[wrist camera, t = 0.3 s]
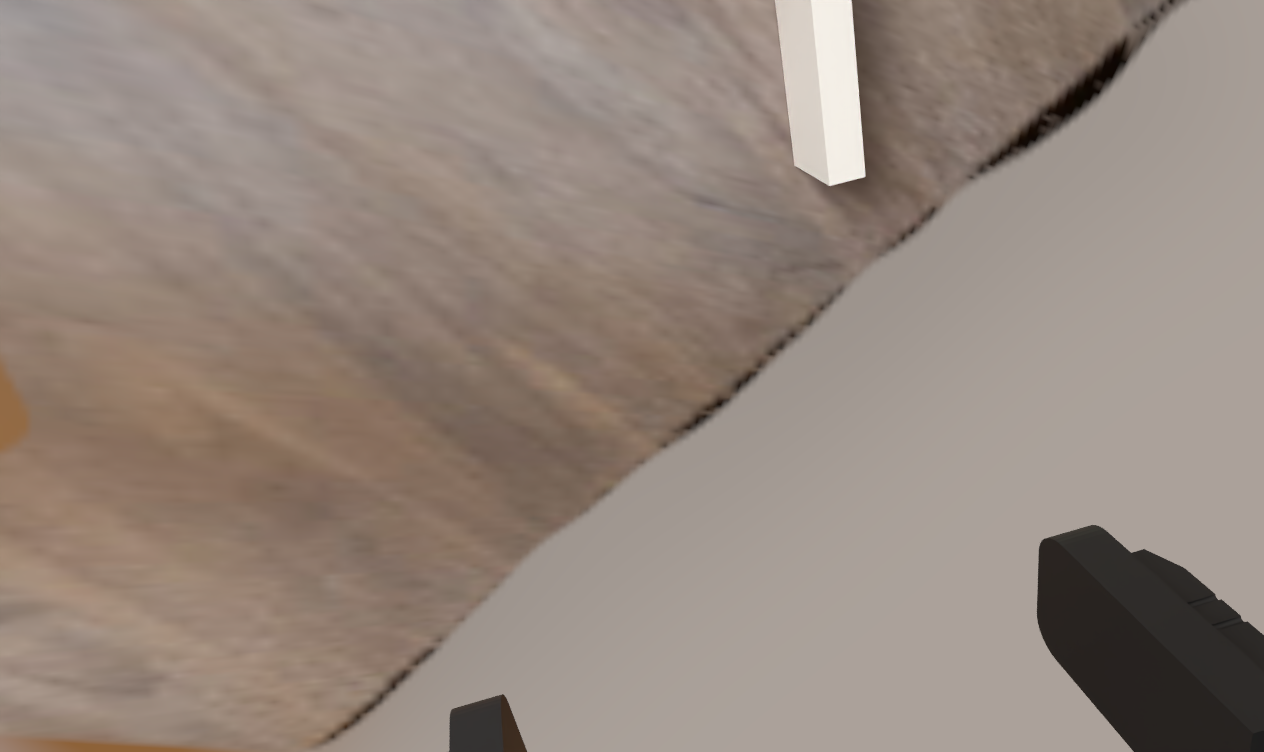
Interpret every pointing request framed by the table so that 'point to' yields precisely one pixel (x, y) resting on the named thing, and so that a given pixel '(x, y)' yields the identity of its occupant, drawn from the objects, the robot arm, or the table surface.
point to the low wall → (822, 88)
